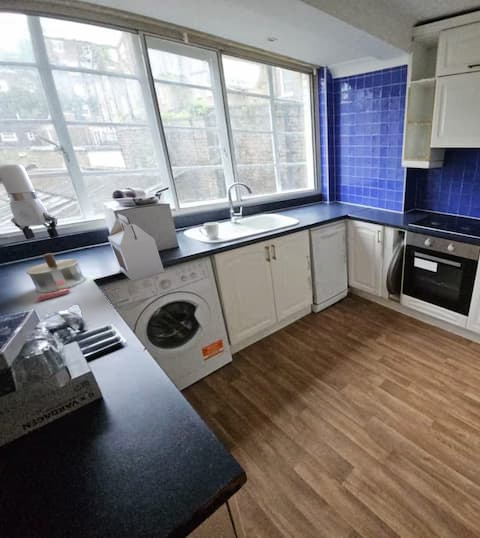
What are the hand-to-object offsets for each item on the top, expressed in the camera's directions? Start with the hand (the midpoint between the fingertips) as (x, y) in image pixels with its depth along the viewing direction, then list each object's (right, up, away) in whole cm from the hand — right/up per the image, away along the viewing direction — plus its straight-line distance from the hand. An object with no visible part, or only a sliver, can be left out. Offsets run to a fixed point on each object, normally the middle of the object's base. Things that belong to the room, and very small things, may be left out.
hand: (43, 237), depth 124 cm
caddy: (-2, -20, +10) cm, 23 cm away
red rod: (+7, -25, -2) cm, 26 cm away
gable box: (+26, -15, +22) cm, 37 cm away
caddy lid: (-2, -12, +7) cm, 14 cm away
